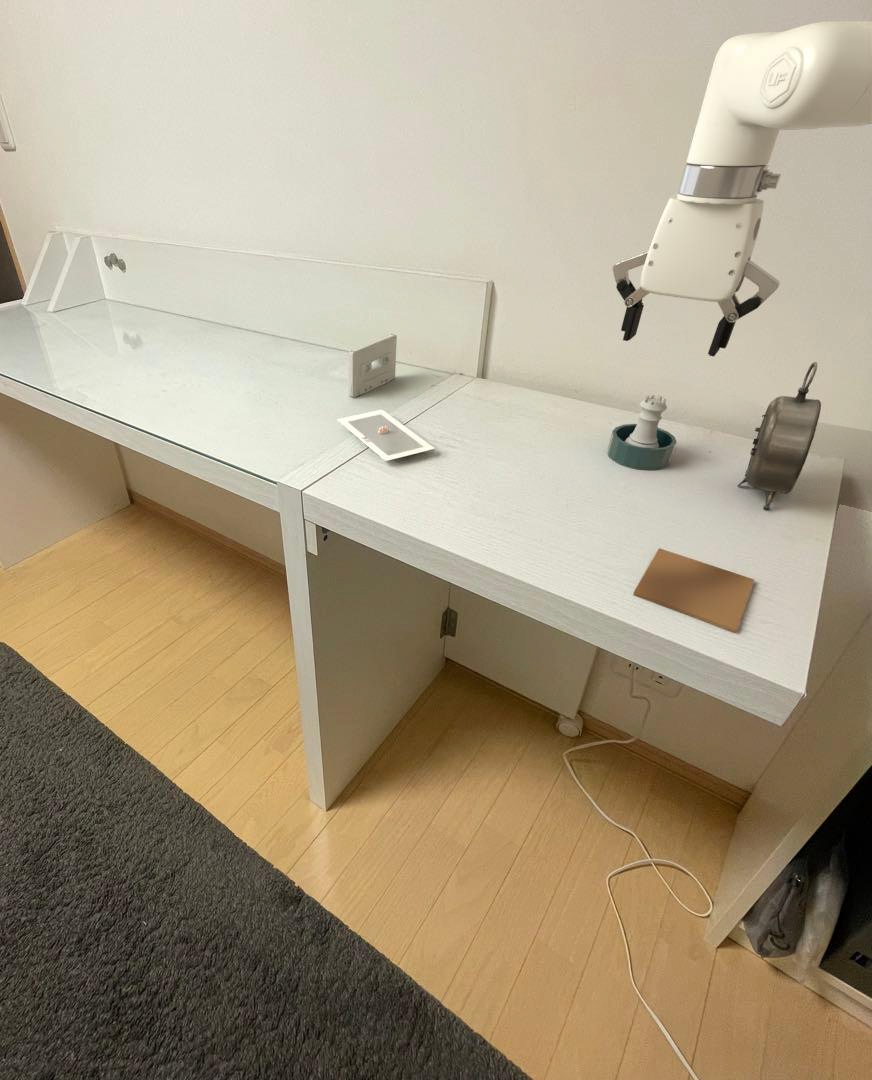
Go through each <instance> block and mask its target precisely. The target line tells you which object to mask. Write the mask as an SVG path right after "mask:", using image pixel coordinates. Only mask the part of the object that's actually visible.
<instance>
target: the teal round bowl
mask: <svg viewBox="0 0 872 1080" xmlns="http://www.w3.org/2000/svg"><path fill="white" fill-rule="evenodd" d="M636 426H637V423H627V424H626V423H625V424H621V425H618V426H615V428H614V429H613V430H612V431H611V435H610V438H609V442H608V445H607V451H606V452H607V455H608V457H609V458H610V459H611V460H612V461H613V462H615V463H617V464H619V465H621V466H624V467H626V468H630V469H634V470H641V471H655V470H656V471H657V470H662V469H664V468H666V467H667V466H668V465H670V462H671V461H672V457H673V454H674V452H675V449H676V446H677V439H676V437H675V435H673V434H672V433H671V432H669V431H668V430H665V429H663V428H660V427H657V439H658V440H657V443H658V444H659V448H644V447H639V446H635V445H631V444H629V443H627V442H625V440H626V439H627V438H628V437H630V434H632V433H633V431H634V430H635V428H636Z"/></svg>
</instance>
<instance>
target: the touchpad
mask: <svg viewBox="0 0 872 1080" xmlns="http://www.w3.org/2000/svg"><path fill="white" fill-rule="evenodd" d="M336 420H337V421H338V422H339V423H340V424H341V425H342V426H343V427H344V428H346V429H347V430H348V431H349V432H350V433H352V434H353V435H354V436H355V437H356V438H357V439H359V440H360V441H361V442H362V443H363V444H364V445H366V446H367V447H368V448H369V449H370V450H372V451H373V452H374V453H375V454H376V455H377V456H378V457H380V458H381V459H382V460H383V461H384V462H389V461H392V460H395V459H399V458H404V457H408V456H412V455H415V454H419V453H424V452H427V451H428V452H429V451H432V450H435V449H436V448H435V447H434V446H432V445H431V444H430V443H428V442H427V441H426V440H424V439H423V438H422V437H420V436H419V435H417V433H415V432H413V431H412V430H411V429H409V428H408V427H407V426H405V425H404V424H403V423H401V422H400V421H399V420H397V419H396V418H395V417H393V416H392V415H391V414H389V413H388V412H387V411H386V410H383V409H379V410H374V411H369V412H364V413H359V414H355V415H351V416H345V417H341V418H337V419H336Z"/></svg>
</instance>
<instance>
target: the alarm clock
mask: <svg viewBox="0 0 872 1080" xmlns="http://www.w3.org/2000/svg"><path fill="white" fill-rule="evenodd" d="M817 370H818V362H817V361H813V362H812V363H811V364H810V366H809V368H808V369H807V371H806V374H805V376H804V379H803V381H802V386H800V387H799V388H798V389H797V395H796V396H787V395H780V396H777V397H776V398H774V399H773V400H771V402H770V403H769V404H768V406H767V408H766V411H765V413H764V414H762V415H761V418H762V421H761V424H760V426H759V427H756V428H755V429H754V431H755V432H757V436H756V438H753V441H752V445H753V447H752V448H751V450H750V459H749V460H748V461H749V462H748V465H747V469H746V471H745V475H744V476H745V477H744V479H743V480H742V481H741V482H739V483H738V484H737V487H740V486H742V485H743V484H745V483H747V485H748V486H749V487H750V488H752V489H756V490H761V491H764V492H765V491H766V497H765V505H763V506H762V509H763V510H764V511H770V509H771V507H770V506H771V505H772V503H773V501H774V497H775V495H777V494H782V495H789V494H790V493H791V492H792V491H793V489H794V487H795V485H796V483H797V481H798V479H799V477H800V474H801V473H802V471H803V467H804V466H805V463H806V461H807V457H808V455H809V453H810V449H811V447H812V443H813V440H814V438H815V434H816V431H817V426H818V422H819V418H820V415H821V409H822V402H821V400H820V399H816V398H815V399H814V398H806V397H807V396H806V395H807V394H809V391H810V390H809V387H810V385H811V384H812V382H813V380H814V378H815V375H816V373H817ZM809 376H810V377H809ZM808 378H809V380H808Z"/></svg>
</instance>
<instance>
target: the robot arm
mask: <svg viewBox="0 0 872 1080" xmlns="http://www.w3.org/2000/svg"><path fill="white" fill-rule="evenodd" d="M708 78H709V79H708V81H707V85H706V89H705V92H704V98H703V101H702V104H701V108H700V111H699V115H698V118H697V122H696V125H695V129H694V132H693V138H692V141H691V143H690V147H689V151H688V154H687V158H686V162H685V165H684V168H683V172H682V176H681V180H680V184H679V187H678V190H677V194H675V195H671V196H670V197H669V199H668V201H667V204H666V206H665V207H664V210H663V212H662V215H661V217H660V219H659V222H658V224H657V226H656V230H655V232H654V235H653V238H652V240H651V243H650V247H649V248H648V250H647V251H644V252H642V253H639V254H637V255H636V254H635V255H634V256H631V257H629V258H626V259H623V260H620V261H618V262H616V263H615V264H614V265H613V266H612V273H613V277H614V281H615V282H616V286H615V287H616V290H617V292H618V294H619V295H620V296H621V298H622V299H623V301H624V302H623V303H624V306H625V307H626V309H625V311H624V312H625V313H624V316H623V320H622V324H621V329H620V331H621V332H624V334H623V337H622V341H623V342H624V341H625V342H628V341H631V340H632V339H634V337H635V336H636V335H637V332H638V328H639V325H640V321H641V317H642V314H643V310H644V307H645V305H644V302H643V299H644V298H645V297H646V296H647V295H649V294H652V295H659V296H665V297H674V298H680V299H688V300H694V301H695V300H696V301H701V302H702V301H703V302H711V303H717V304H718V306H719V308H720V310H721V312H722V314H723V317H722V318H721V319H720V320H719V321H718V323H717V326H716V329H715V332H714V335H713V338H712V339H711V340H712V341H711V344H710V347H709V349H708V352H707V355H708V356H709V357H715V356H716V355H717V353H718V352H719V351H720V349H726V348H727V347H728V344H729V342H730V339H731V337H732V334H733V330H734V329H735V328H734V327H735V325H736V322H737V320H740V319H742V318H743V317H744V316H746V315H748V314H750V313H752V312H753V311H755V310H757V309H758V308H759V307H760V306H761V305H762V304H763V303H764V302H765V301H766V300H768V299H769V297H771V296H772V295H773V294H774V293H775V292H776V291H777V290H778V288H779V287H780V285H781V281H780V280H778V279H777V278H776V277H774V276H773V275H772V274H771V273H769V272H768V271H766V270H765V269H764V268H762V267H761V266H759V265H758V264H757V263H756V262H754V261H752V260H751V259H752V256H753V253H754V249H755V245H756V241H757V238H758V235H759V230H760V228H761V227H760V226H761V222H762V218H763V212H764V203H765V201H764V200H763V199H759V198H758V195H759V194H760V193H762V192H763V191H766V190H768V189H769V190H771V189H772V190H776V189H777V187H778V185H779V182H780V179H781V176H782V174H781V173H774V171H770V169H769V166H770V165H769V162H770V160H771V157H772V154H773V151H774V148H775V145H776V142H777V140H778V136H779V133H780V131H782V130H783V131H797V130H817V129H827V128H829V129H830V128H850V127H851V128H852V127H864V126H867V125H872V20H866V21H865V20H860V21H859V20H849V21H819V22H813V23H809V24H805V25H800V26H797V27H793V28H791V29H788V30H785V31H765V32H751V33H743V34H738V35H734V36H732V37H730V38H728V39H727V40H725V41H724V42H723V44H722V45H721V46H720V47H719V49H718V50H717V52H716V55H715V58H714V61H713V65H712V68H711V71H710V74H709V77H708ZM641 266H643V267H642V271H641V275H640V279H639V288H637V289H636V287H635V285H634V284H633V283H632V280H631V279H630V277H629V271H630V270H632V269H636V268H639V267H641ZM745 278H746V279H748V280H749V281H750V282H751V283H753V284H754V285H756V286H757V288H758V291H756V293H755V294H754V295H753V296H751V297H749V298H748V299H746V300H745V301H743V302H740V300H739V298H738V296H737V294H736V293H737V292H739V291H740V289H741V287H742V285H743V282H744V280H745Z"/></svg>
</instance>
